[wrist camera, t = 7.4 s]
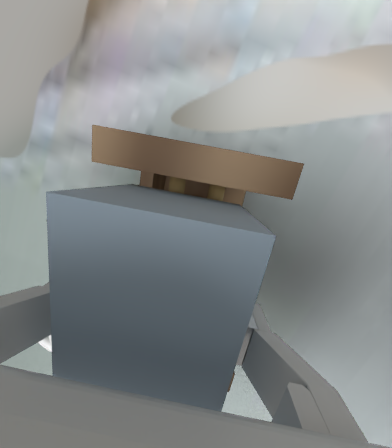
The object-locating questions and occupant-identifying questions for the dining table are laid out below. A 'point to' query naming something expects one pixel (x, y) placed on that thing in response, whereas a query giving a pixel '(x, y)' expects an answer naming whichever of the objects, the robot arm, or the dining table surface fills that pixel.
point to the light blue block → (152, 289)
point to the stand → (195, 167)
